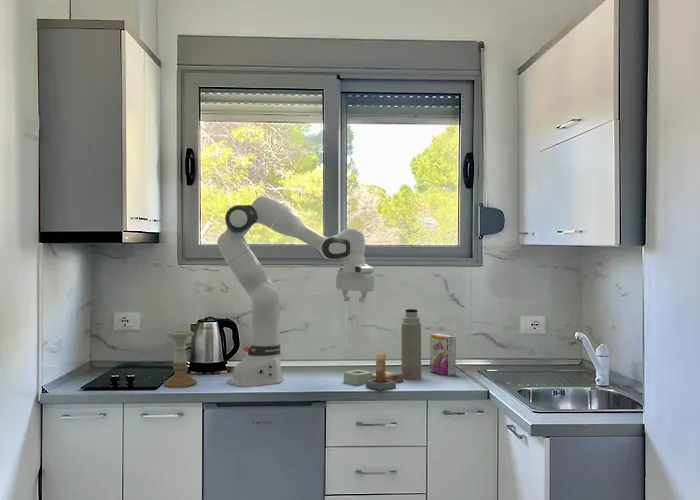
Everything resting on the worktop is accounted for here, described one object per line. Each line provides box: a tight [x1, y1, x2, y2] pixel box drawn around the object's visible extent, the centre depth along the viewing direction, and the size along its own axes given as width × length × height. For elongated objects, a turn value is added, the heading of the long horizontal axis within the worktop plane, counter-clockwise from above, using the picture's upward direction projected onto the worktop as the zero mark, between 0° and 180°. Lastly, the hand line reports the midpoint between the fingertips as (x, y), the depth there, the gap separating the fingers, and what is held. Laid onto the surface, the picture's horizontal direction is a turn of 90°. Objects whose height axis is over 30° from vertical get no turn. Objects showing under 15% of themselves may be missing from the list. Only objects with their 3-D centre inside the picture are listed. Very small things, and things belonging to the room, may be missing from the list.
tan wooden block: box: [372, 371, 395, 380], centre depth 248 cm, size 9×7×3 cm
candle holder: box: [163, 330, 197, 388], centre depth 240 cm, size 12×12×20 cm
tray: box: [365, 379, 397, 392], centre depth 234 cm, size 8×8×2 cm
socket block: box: [343, 369, 373, 386], centre depth 244 cm, size 8×8×4 cm
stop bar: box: [385, 372, 405, 384], centre depth 244 cm, size 10×3×3 cm, turn 131°
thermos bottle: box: [401, 308, 422, 380], centre depth 254 cm, size 8×8×28 cm
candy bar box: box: [429, 333, 457, 377], centre depth 262 cm, size 11×5×16 cm, turn 34°
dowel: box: [375, 353, 386, 384], centre depth 234 cm, size 4×4×12 cm
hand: (354, 301), depth 254 cm, fingers open, 8 cm apart
